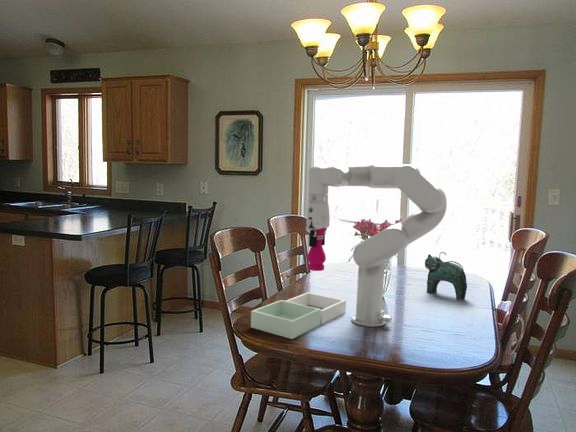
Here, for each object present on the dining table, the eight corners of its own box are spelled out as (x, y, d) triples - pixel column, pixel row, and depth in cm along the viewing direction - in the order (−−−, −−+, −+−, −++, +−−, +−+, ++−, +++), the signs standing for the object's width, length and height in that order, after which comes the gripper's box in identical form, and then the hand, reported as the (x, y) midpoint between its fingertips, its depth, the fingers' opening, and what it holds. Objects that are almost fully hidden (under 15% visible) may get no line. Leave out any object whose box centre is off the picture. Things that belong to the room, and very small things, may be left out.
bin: (320, 325, 171) (320, 309, 170) (292, 339, 156) (292, 321, 156) (280, 314, 181) (281, 299, 181) (250, 327, 167) (251, 310, 166)
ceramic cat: (422, 291, 221) (424, 249, 219) (429, 289, 226) (432, 248, 223) (461, 301, 206) (464, 256, 204) (468, 299, 211) (471, 255, 209)
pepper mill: (324, 271, 178) (325, 219, 176) (305, 270, 180) (306, 218, 177) (326, 267, 185) (327, 217, 183) (308, 266, 187) (309, 216, 184)
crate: (345, 312, 186) (345, 300, 186) (321, 324, 172) (322, 311, 171) (307, 303, 197) (308, 292, 196) (282, 314, 182) (282, 301, 182)
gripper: (314, 200, 170) (313, 249, 172) (337, 198, 184) (336, 244, 186) (297, 199, 175) (296, 247, 177) (321, 197, 188) (320, 242, 190)
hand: (316, 245), depth 181 cm, fingers closed on pepper mill, 5 cm apart
